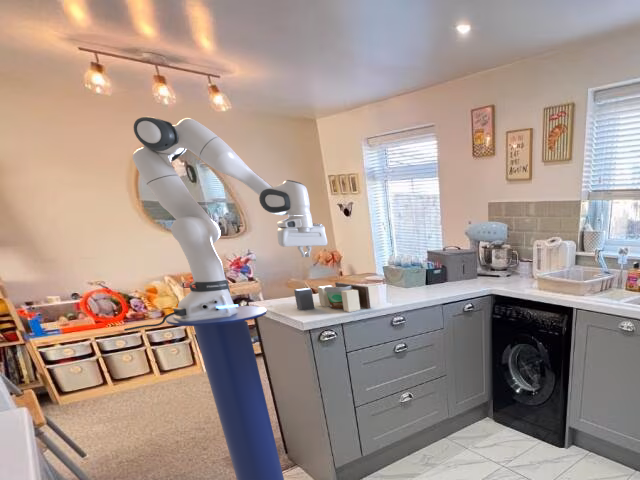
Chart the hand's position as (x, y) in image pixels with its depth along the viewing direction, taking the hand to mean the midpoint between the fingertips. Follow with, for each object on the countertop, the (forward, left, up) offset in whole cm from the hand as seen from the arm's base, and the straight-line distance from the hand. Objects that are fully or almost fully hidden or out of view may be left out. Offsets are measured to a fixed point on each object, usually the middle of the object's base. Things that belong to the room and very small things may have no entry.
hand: (306, 257), depth 179 cm
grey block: (0, +7, -23) cm, 24 cm away
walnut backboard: (+18, -3, -23) cm, 30 cm away
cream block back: (+11, +6, -23) cm, 26 cm away
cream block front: (+11, -13, -23) cm, 29 cm away
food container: (+10, -5, -24) cm, 26 cm away
